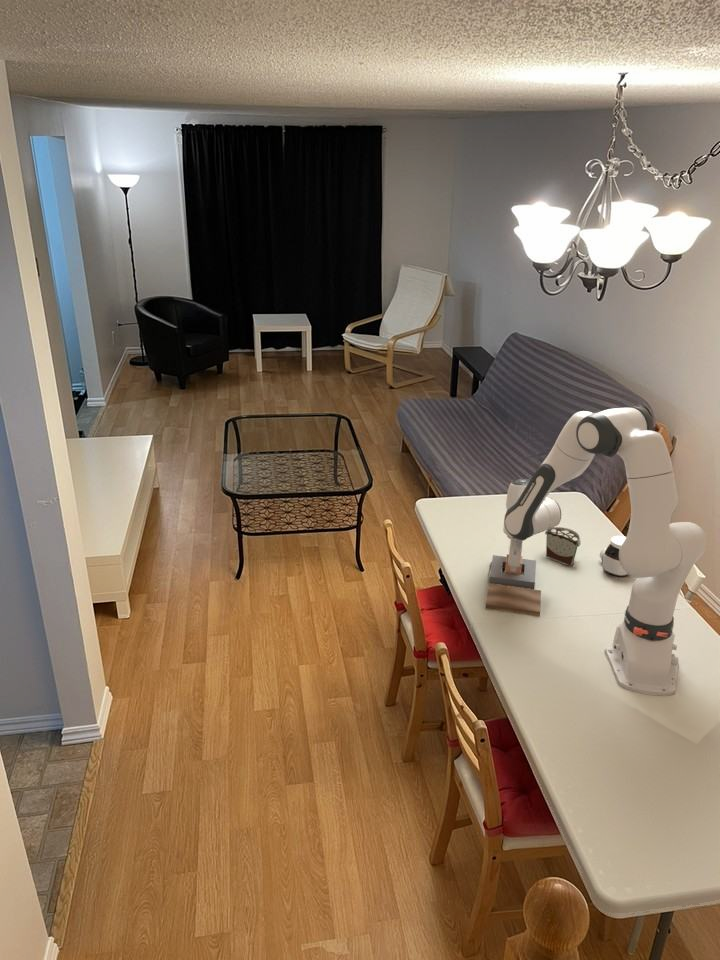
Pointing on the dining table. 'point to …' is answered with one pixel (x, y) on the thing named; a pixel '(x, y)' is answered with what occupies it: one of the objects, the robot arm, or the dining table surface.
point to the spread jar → (613, 557)
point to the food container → (562, 544)
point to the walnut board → (513, 599)
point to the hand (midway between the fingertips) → (513, 565)
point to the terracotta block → (507, 568)
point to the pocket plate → (513, 579)
